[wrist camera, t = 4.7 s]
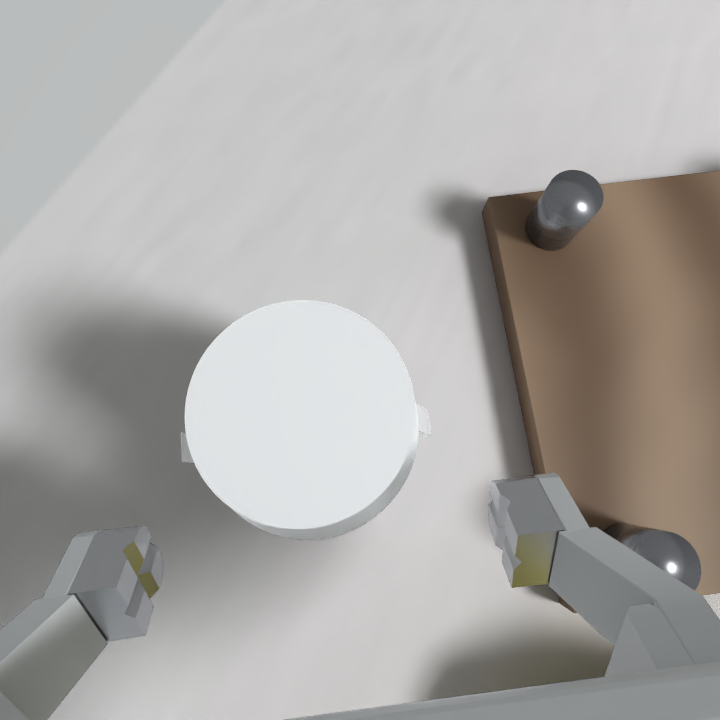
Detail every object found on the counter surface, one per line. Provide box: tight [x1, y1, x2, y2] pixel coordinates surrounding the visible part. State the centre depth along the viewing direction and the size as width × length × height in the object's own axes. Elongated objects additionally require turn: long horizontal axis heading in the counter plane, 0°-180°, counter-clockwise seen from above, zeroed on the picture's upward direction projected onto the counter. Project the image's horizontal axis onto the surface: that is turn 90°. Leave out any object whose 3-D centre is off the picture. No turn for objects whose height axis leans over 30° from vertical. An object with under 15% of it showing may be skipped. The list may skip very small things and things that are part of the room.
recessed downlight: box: [180, 300, 432, 540], centre depth 15 cm, size 8×7×10 cm
